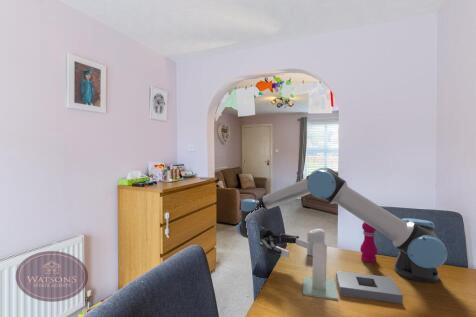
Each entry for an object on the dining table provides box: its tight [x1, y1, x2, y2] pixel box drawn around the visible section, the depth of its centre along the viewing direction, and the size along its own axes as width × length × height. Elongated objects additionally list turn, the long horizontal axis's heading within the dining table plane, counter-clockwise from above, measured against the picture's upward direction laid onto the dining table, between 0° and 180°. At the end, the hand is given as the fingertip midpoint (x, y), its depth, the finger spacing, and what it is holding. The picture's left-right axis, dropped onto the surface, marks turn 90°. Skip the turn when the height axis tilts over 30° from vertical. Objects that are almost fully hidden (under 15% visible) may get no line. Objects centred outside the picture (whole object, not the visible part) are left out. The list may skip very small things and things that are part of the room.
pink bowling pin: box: [359, 221, 378, 263], centre depth 116 cm, size 7×7×20 cm
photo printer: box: [306, 228, 326, 257], centre depth 124 cm, size 10×4×12 cm, turn 123°
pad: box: [302, 276, 339, 301], centre depth 93 cm, size 12×12×1 cm
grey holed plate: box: [335, 270, 404, 305], centre depth 92 cm, size 20×12×3 cm, turn 74°
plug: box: [311, 243, 328, 290], centre depth 93 cm, size 5×5×16 cm
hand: (299, 250), depth 100 cm, fingers open, 13 cm apart
